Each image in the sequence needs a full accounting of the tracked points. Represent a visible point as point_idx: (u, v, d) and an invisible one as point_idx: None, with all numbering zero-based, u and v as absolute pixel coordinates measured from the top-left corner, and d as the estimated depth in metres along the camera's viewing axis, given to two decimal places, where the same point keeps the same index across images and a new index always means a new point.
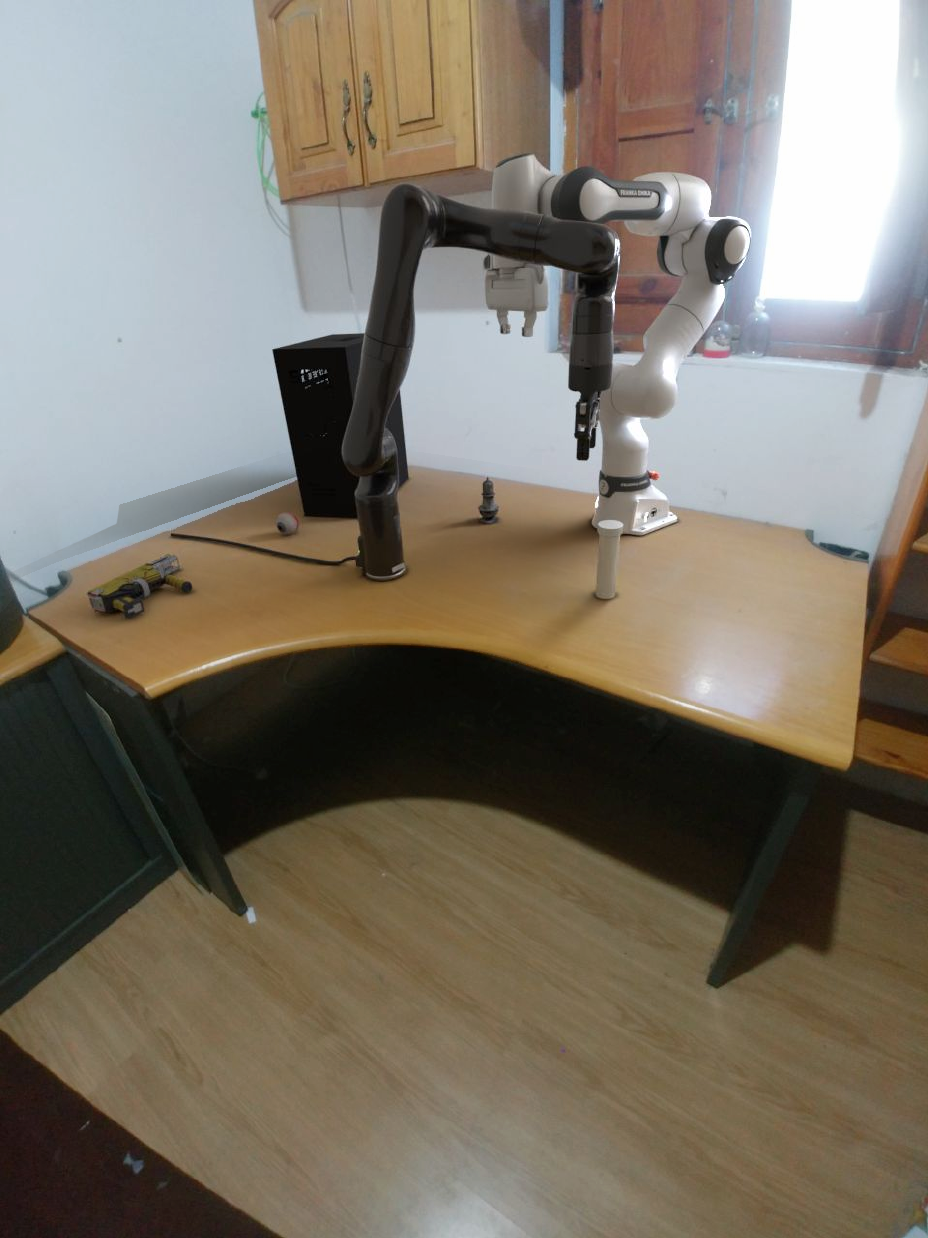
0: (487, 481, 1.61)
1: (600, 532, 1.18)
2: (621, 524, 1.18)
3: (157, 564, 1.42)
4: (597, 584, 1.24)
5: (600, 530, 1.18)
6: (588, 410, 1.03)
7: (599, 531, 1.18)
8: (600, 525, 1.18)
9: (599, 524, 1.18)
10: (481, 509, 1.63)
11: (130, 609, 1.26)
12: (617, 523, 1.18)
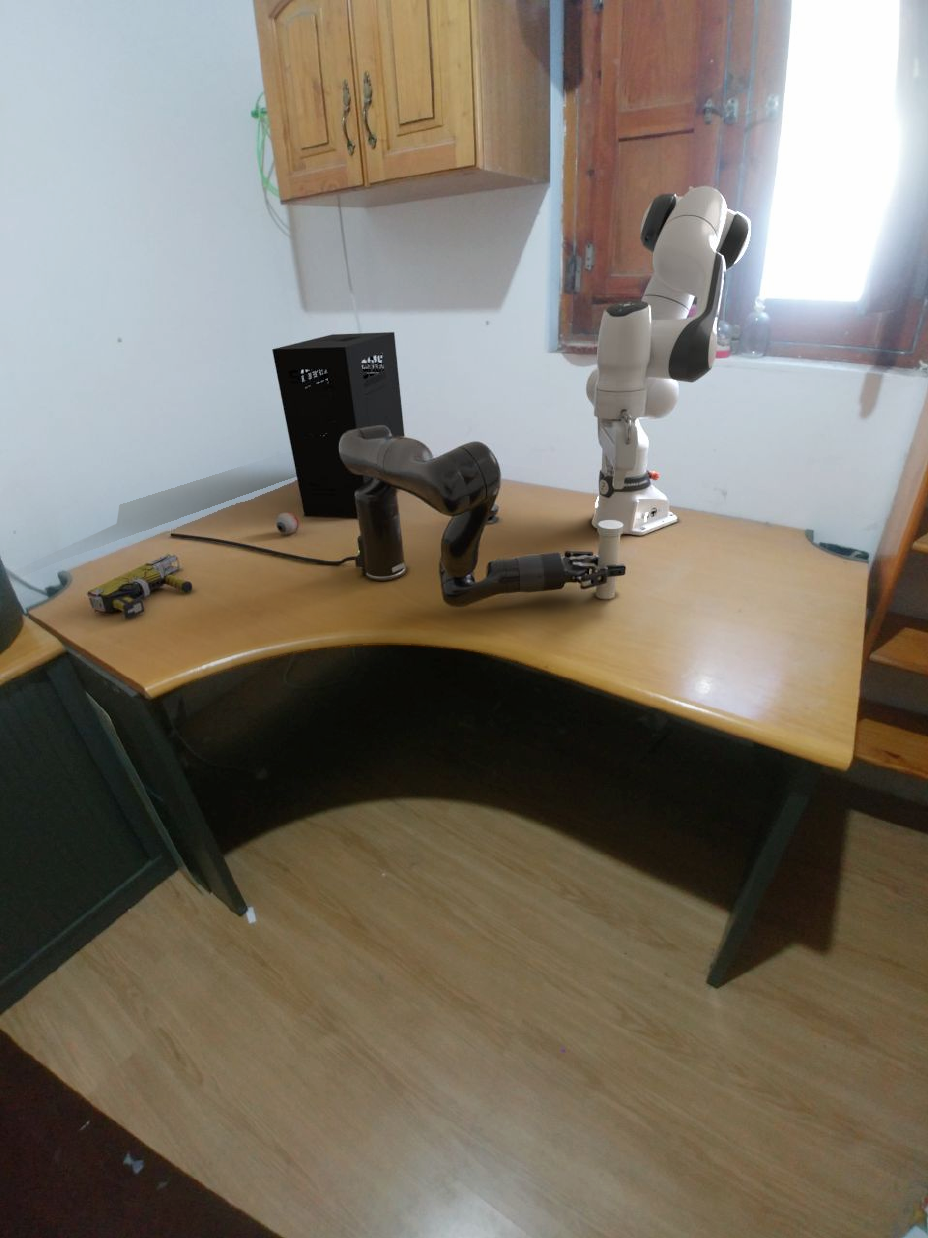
0: None
1: (600, 532, 1.18)
2: (621, 524, 1.18)
3: (157, 564, 1.42)
4: None
5: (600, 530, 1.18)
6: None
7: (599, 531, 1.18)
8: (600, 525, 1.18)
9: (599, 524, 1.18)
10: None
11: (130, 609, 1.26)
12: (617, 523, 1.18)
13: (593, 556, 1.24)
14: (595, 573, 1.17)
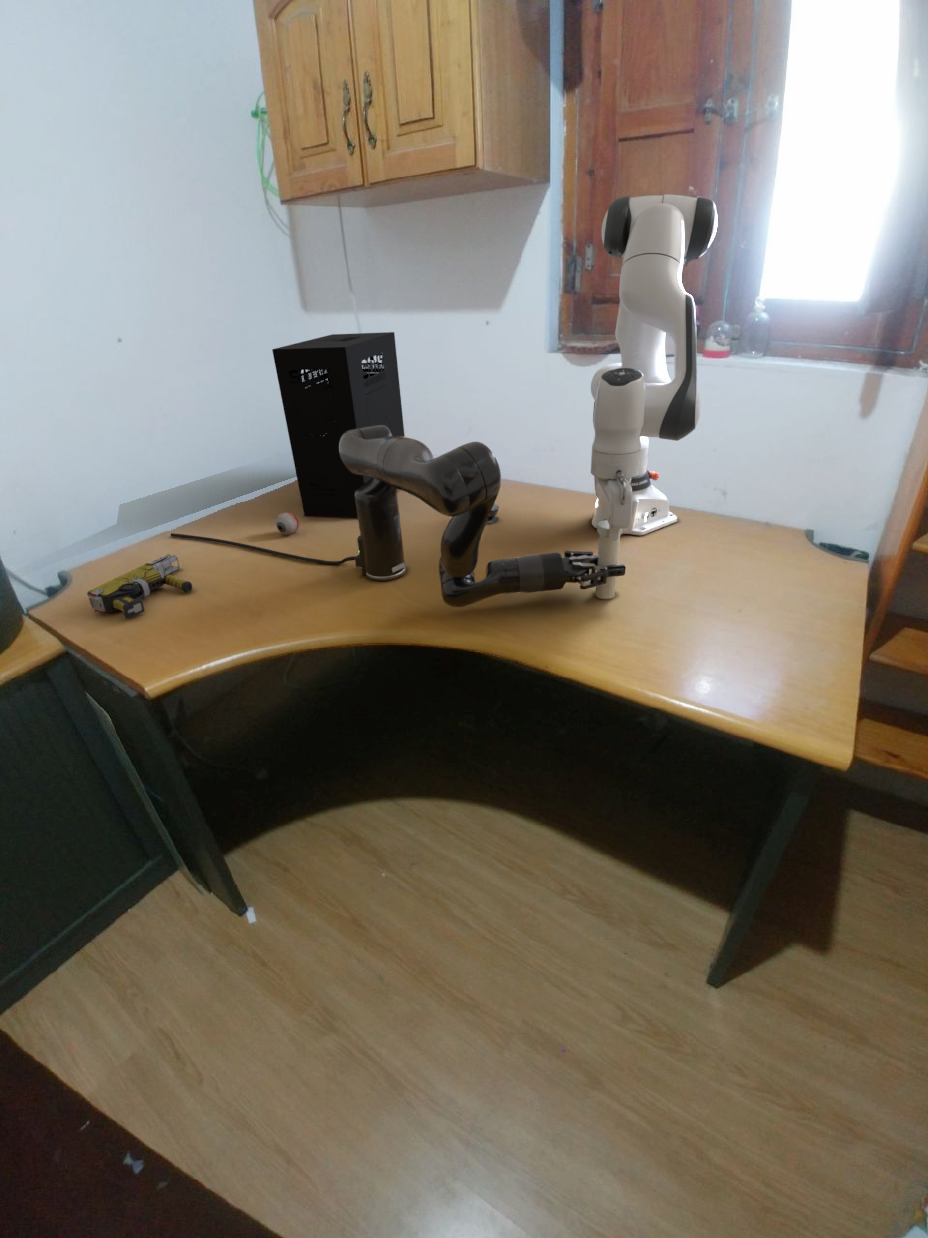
0: None
1: (600, 532, 1.18)
2: None
3: (157, 564, 1.42)
4: None
5: (600, 530, 1.18)
6: None
7: (599, 531, 1.18)
8: (600, 525, 1.18)
9: (599, 524, 1.18)
10: None
11: (130, 609, 1.26)
12: None
13: (593, 556, 1.24)
14: (595, 573, 1.17)
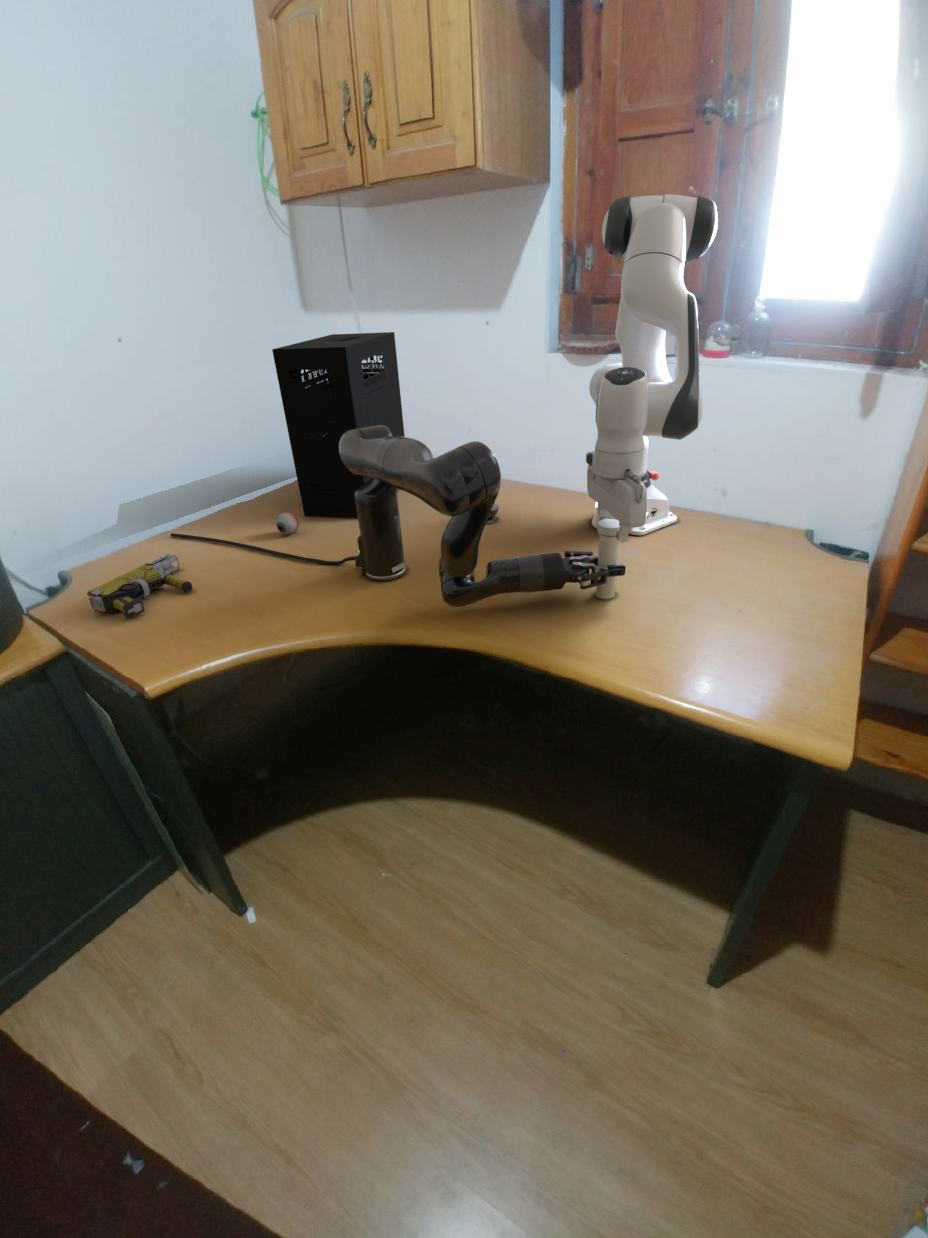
0: None
1: None
2: (611, 519, 1.20)
3: (157, 564, 1.42)
4: None
5: None
6: None
7: (615, 532, 1.17)
8: (613, 527, 1.16)
9: (610, 527, 1.16)
10: None
11: (130, 609, 1.26)
12: (608, 520, 1.19)
13: (593, 556, 1.24)
14: (595, 573, 1.17)
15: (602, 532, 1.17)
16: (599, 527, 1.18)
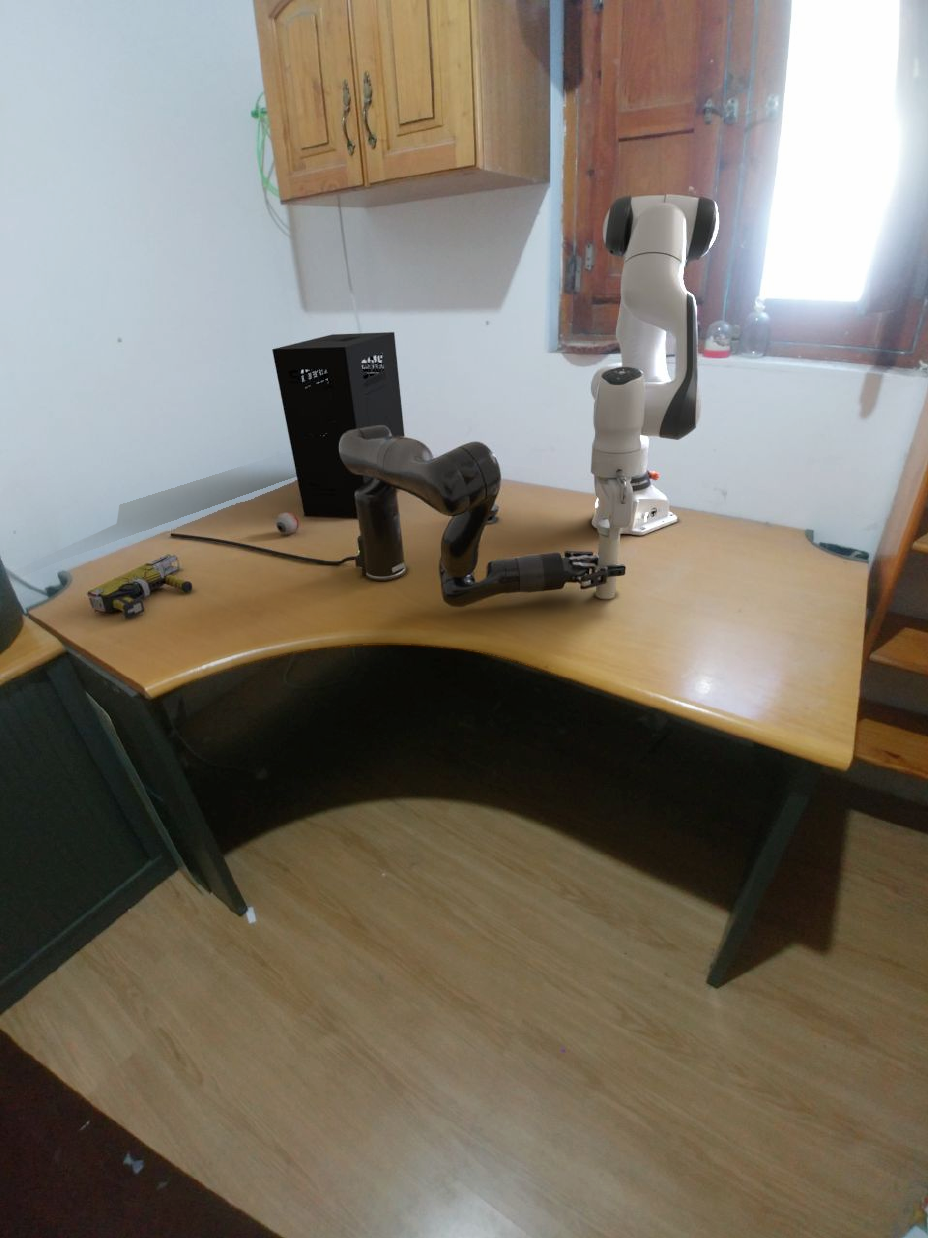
0: None
1: None
2: None
3: (157, 564, 1.42)
4: None
5: None
6: None
7: None
8: None
9: None
10: None
11: (130, 609, 1.26)
12: None
13: (593, 556, 1.24)
14: (595, 573, 1.17)
15: (602, 532, 1.17)
16: (599, 527, 1.18)
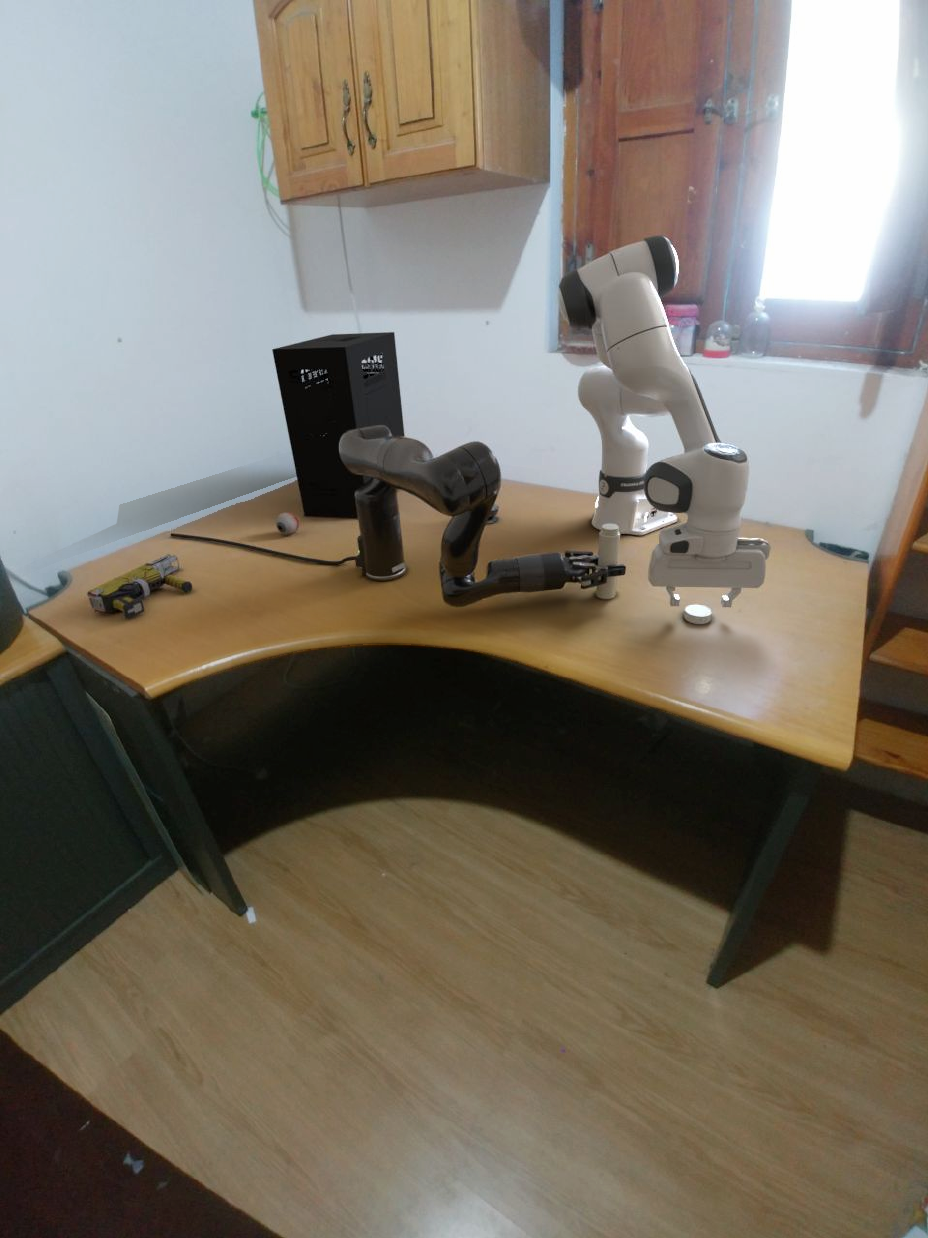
0: None
1: None
2: (686, 608, 1.16)
3: (157, 564, 1.42)
4: None
5: None
6: None
7: None
8: (709, 610, 1.15)
9: (710, 611, 1.15)
10: None
11: (130, 609, 1.26)
12: (690, 610, 1.15)
13: (593, 556, 1.24)
14: (595, 573, 1.17)
15: (708, 620, 1.14)
16: (705, 618, 1.13)
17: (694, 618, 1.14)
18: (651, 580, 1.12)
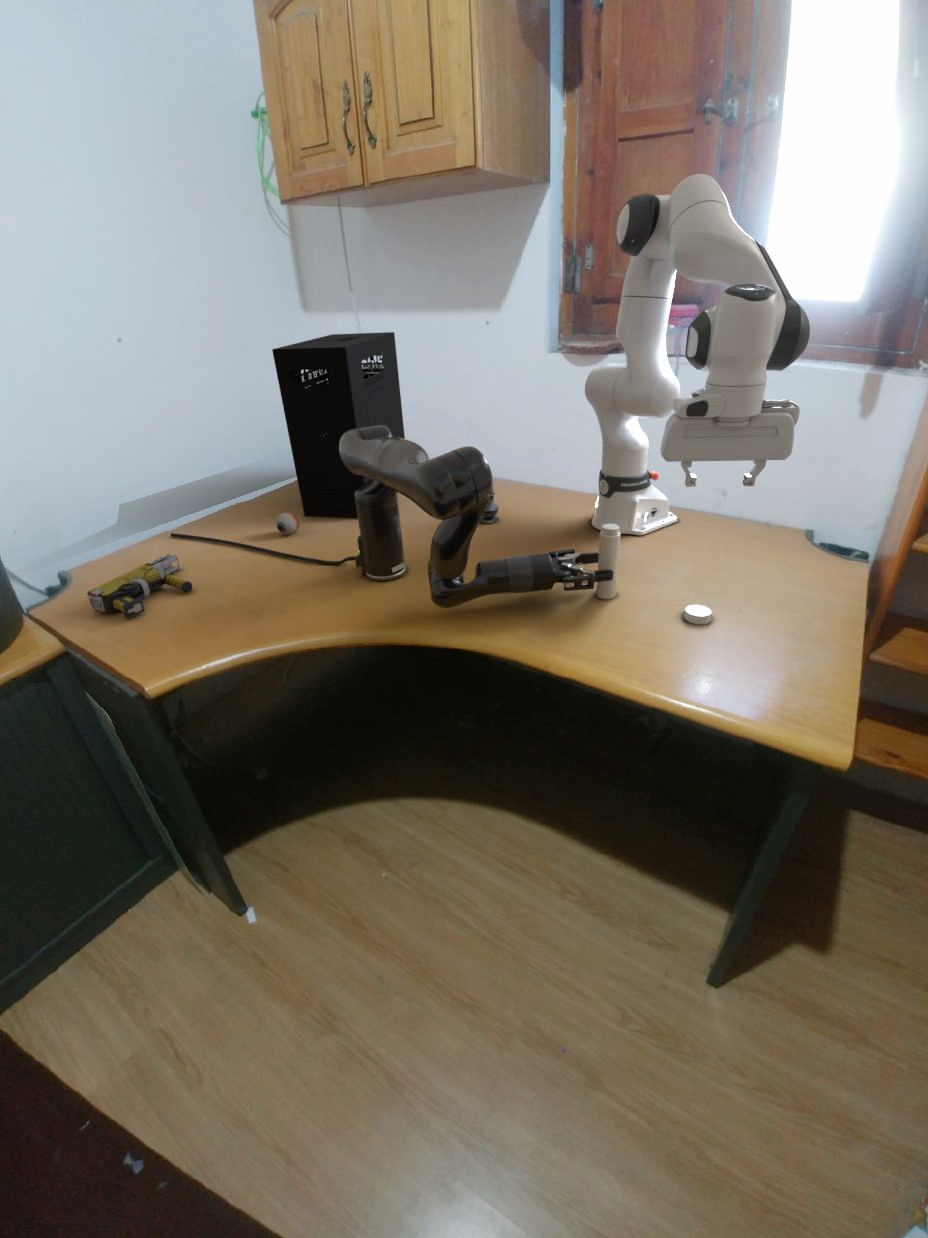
0: None
1: None
2: (686, 608, 1.16)
3: (157, 564, 1.42)
4: (597, 584, 1.24)
5: None
6: None
7: None
8: (709, 610, 1.15)
9: (710, 611, 1.15)
10: None
11: (130, 609, 1.26)
12: (690, 610, 1.15)
13: (576, 554, 1.26)
14: (580, 577, 1.16)
15: (708, 620, 1.14)
16: (705, 618, 1.13)
17: (694, 618, 1.14)
18: (665, 453, 1.00)
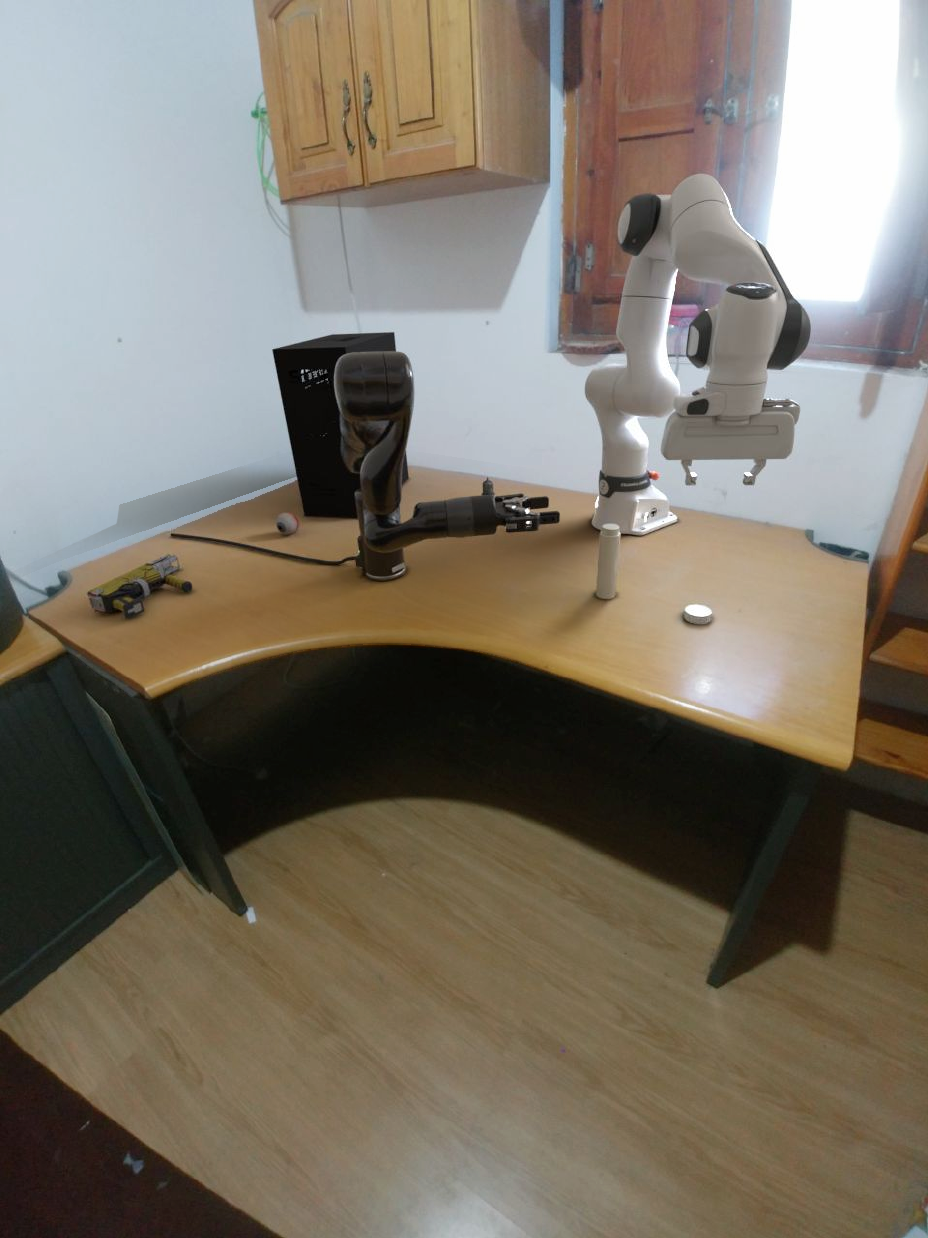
0: (487, 481, 1.61)
1: None
2: (686, 608, 1.16)
3: (157, 564, 1.42)
4: (597, 584, 1.24)
5: None
6: None
7: None
8: (709, 610, 1.15)
9: (710, 611, 1.15)
10: None
11: (130, 609, 1.26)
12: (690, 610, 1.15)
13: (523, 498, 1.18)
14: (523, 517, 1.08)
15: (708, 620, 1.14)
16: (705, 618, 1.13)
17: (694, 618, 1.14)
18: (665, 452, 1.00)
